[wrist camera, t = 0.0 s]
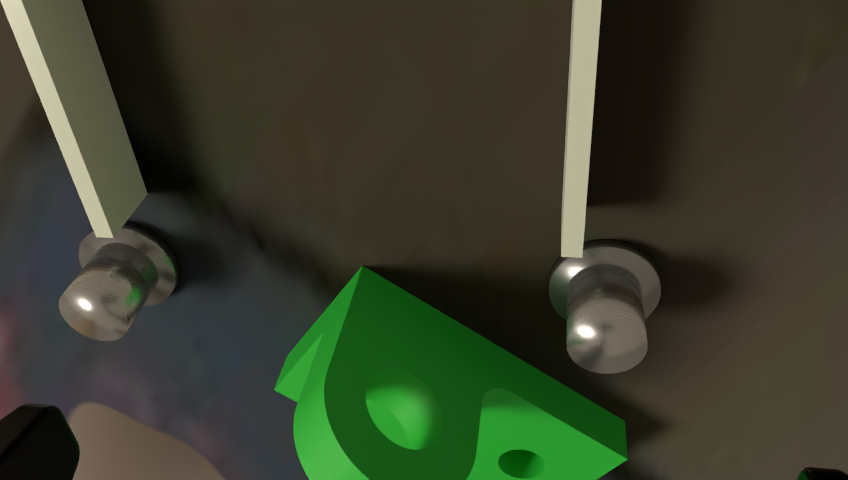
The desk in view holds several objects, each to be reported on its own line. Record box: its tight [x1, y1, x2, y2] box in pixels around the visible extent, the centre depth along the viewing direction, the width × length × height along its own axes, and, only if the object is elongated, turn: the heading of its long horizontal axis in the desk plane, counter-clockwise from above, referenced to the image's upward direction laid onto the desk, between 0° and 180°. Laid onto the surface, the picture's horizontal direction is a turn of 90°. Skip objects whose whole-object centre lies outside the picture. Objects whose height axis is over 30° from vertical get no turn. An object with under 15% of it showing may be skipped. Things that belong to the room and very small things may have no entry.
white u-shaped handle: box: [0, 0, 602, 258], centre depth 21 cm, size 9×15×2 cm, turn 94°
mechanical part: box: [274, 266, 628, 480], centre depth 27 cm, size 12×6×8 cm, turn 57°
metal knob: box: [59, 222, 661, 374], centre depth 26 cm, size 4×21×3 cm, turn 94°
